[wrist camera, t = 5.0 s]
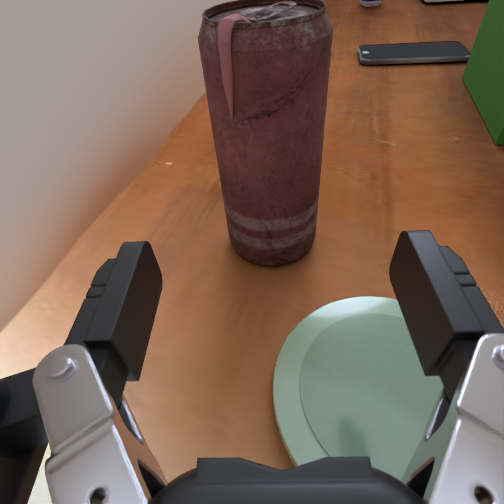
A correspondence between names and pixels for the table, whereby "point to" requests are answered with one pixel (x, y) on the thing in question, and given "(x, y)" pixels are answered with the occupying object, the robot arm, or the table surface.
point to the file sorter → (440, 0)
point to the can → (268, 119)
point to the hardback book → (489, 70)
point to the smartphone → (413, 53)
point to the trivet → (353, 386)
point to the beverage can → (370, 2)
